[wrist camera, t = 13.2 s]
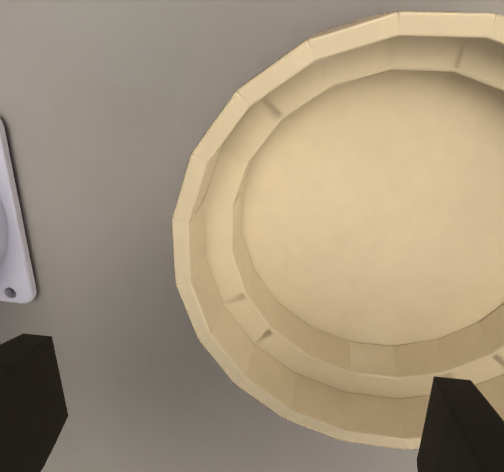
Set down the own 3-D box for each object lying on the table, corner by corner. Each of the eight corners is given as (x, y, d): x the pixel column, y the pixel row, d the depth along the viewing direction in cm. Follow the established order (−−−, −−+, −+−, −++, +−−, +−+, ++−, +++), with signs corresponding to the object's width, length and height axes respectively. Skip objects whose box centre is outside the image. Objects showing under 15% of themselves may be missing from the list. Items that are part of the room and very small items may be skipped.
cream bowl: (210, 345, 21) (182, 419, 17) (203, 8, 15) (158, 6, 11) (535, 383, 19) (585, 475, 15) (660, 17, 13) (787, 18, 10)
